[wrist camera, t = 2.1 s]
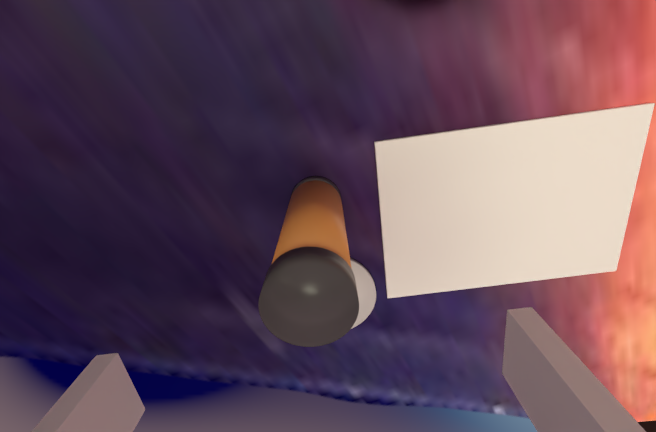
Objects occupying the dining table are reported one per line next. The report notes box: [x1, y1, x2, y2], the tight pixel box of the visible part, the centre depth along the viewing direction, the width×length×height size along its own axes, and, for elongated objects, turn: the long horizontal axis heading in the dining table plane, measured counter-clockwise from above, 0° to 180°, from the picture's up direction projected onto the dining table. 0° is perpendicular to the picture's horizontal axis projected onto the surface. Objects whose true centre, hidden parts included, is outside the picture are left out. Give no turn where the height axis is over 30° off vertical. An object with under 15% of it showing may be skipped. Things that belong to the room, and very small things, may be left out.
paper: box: [374, 103, 655, 298], centre depth 26 cm, size 20×14×1 cm
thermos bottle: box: [259, 176, 359, 347], centre depth 20 cm, size 4×4×14 cm
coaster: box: [350, 258, 376, 329], centre depth 29 cm, size 8×8×1 cm
